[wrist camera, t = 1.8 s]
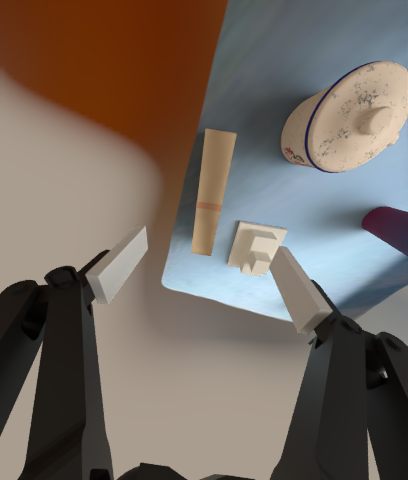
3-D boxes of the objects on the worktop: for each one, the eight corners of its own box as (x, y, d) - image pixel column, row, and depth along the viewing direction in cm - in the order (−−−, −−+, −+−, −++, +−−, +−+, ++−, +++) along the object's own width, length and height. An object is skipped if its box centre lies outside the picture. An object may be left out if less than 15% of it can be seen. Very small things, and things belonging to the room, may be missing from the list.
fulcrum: (239, 220, 31) (245, 237, 25) (285, 228, 31) (302, 246, 25) (227, 262, 37) (228, 284, 31) (265, 269, 37) (274, 291, 31)
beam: (194, 237, 34) (190, 253, 29) (208, 133, 23) (205, 128, 18) (212, 240, 34) (211, 256, 29) (233, 137, 23) (237, 133, 18)
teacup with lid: (268, 160, 25) (303, 167, 15) (296, 86, 20) (372, 24, 10) (336, 174, 25) (413, 190, 15) (379, 104, 20) (533, 61, 10)
